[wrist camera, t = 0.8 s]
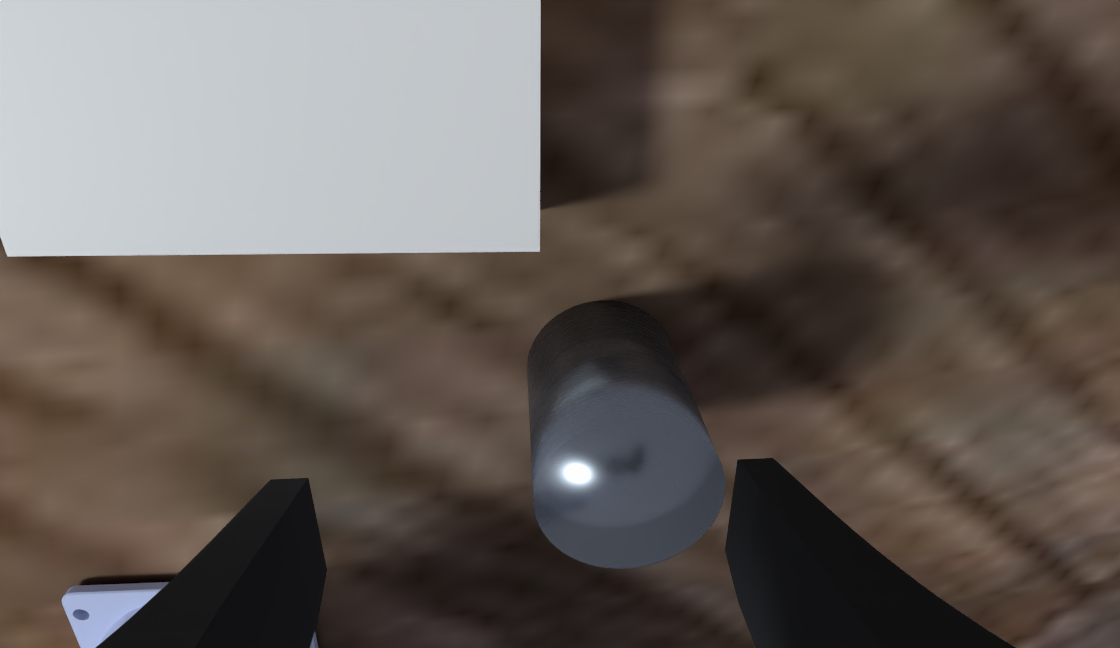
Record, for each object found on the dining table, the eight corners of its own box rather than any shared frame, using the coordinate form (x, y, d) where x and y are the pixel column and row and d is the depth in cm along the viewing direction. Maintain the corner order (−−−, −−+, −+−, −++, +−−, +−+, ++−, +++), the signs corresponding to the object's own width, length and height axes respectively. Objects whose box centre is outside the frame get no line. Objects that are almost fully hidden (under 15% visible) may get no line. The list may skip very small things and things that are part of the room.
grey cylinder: (666, 425, 23) (713, 565, 18) (527, 428, 23) (533, 572, 18) (679, 299, 21) (736, 414, 16) (526, 301, 21) (533, 419, 16)
